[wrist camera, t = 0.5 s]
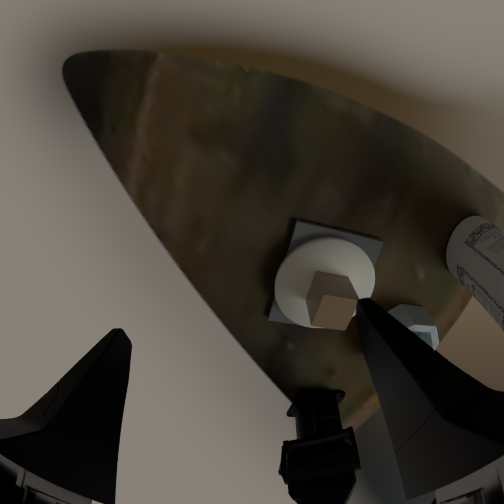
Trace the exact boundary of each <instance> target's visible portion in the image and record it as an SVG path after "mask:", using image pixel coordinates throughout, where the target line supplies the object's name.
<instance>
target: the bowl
mask: <svg viewBox="0 0 504 504" xmlns="http://www.w3.org/2000/svg"><path fill="white" fill-rule="evenodd" d="M388 313H389V314H391V315H392V316H393V317H395V318H396V319H397V320H398V321H400V322H401V323H402V324H403V325H405V326H406V327H407V328H409V329H410V330H411V331H412V332H414V333H415V334H416V335H417V336H419V337H420V338H421V339H422V340H424V341H425V342H426V343H427V344H428V345H430V346H431V347H432V348H433V349H434V350H435V349H436V347H437V346H438V345H439V340H438V334H437V328H436V326H435V324H434V323H433V321H432V320H431V318H430V317H429V315H428V314H427V313H426V311H425V310H424V308H423V307H421V306H414V305H407V304H399V305H398V306H396V307H394V308H393V309H391V310H389V311H388Z"/></svg>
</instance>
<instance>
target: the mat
mask: <svg viewBox="0 0 504 504" xmlns="http://www.w3.org/2000/svg"><path fill="white" fill-rule="evenodd" d="M320 237H340V238H344V239H347V240H350V241H352V242H354V243H355V244H357V245H358V246H359V247H360V248H362V249H363V251H364V252H365V253H366V254H367V256H368V257H369V259H370V261H371V262H372V265H373V268H374V266H375V263H376V261H377V258H378V256H379V253H380V251H381V248H382V246H383V243H384V242H383V241H382V240H380V239H376V238H372V237H368V236H364V235H360V234H356V233H352V232H348V231H344V230H340V229H336V228H331V227H327V226H323V225H318V224H314V223H310V222H305V221H301V220H296V222H295V226H294V230H293V233H292V237H291V241H290V244H289V248H288V251H287V255H288V254H289V253H290V252H291V251H292V250H294V249H295V248H296V247H298V246H299V245H301V244H303V243H305V242H307V241H309V240H312V239H315V238H320ZM287 255H286V256H287ZM268 320H270V321H276V322H283V323H289V324H296V325H299V324H297V323H295V322H293V321H291V320H290V319H289V318H287V317H286V316H285V315H284V314H283V312H282V311H281V310H280V308H279V306H278V304H277V301H276V297H275V296H274V299H273V302H272V306H271V309H270V312H269V316H268ZM326 329H331V328H326ZM334 330H340V329H334ZM343 331H345V330H343Z"/></svg>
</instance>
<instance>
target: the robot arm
mask: <svg viewBox="0 0 504 504" xmlns="http://www.w3.org/2000/svg"><path fill="white" fill-rule="evenodd" d="M355 318H356V323H357V327H358V331H359V336H360V340H361V344H362V348H363V353H364V357H365V360H366V363H367V366H368V368H369V371H370V374H371V377H372V380H373V383H374V386H375V389H376V392H377V395H378V398H379V401H380V404H381V407H382V410H383V414H384V417H385V420H386V424H387V427H388V430H389V434H390V437H391V441H392V444H393V448H394V451H395V453H396V454H395V455H396V459H397V463H398V467H399V471H400V475H401V479H402V483H403V488H404V492H405V497H406V500H409V499H412V498H415V497H418V496H421V495H424V494H426V493H429V492H431V491H434V493H435V499H434V500H433V502H432V503H431V504H504V392H503V391H496V390H493V389H491V388H489V387H487V386H485V385H484V384H482V383H480V382H479V381H478V380H476V379H474V378H473V377H471V376H470V375H468V374H467V373H465V372H464V371H462V370H461V369H460V368H458V367H457V366H455V365H454V364H452V363H451V362H450V361H448V360H447V359H446V358H444V357H443V356H442V355H441V354H440V353H438V352H437V351H436V350H434V349H433V348H432V347H431V346H430V345H428V344H427V343H426V342H425V341H424V340H422V339H421V338H420V337H419V336H417V335H416V334H415V333H414V332H412V331H411V330H410V329H409V328H407V327H406V326H405V325H403V324H402V323H401V322H400V321H398V320H397V319H396V318H395V317H393V316H392V315H391V314H389V313H388V312H387V311H386V310H384V309H383V308H382V307H380V306H379V305H378V304H376V303H375V302H374V301H373V300H371V299H370V298H368V297H367V298H362V299H358V300H357V305H356V315H355ZM131 350H132V344H131V341H130V339H129V338H128V336H127V335H126V334H125V332H124V330H123V329H121V328H118V329H117V328H115V329H112V330H111V331H110V332H109V333H108V334H107V335H106V336H104V337H103V338H102V339H101V340H100V341H99V342H98V343H97V344H96V345H95V346H94V347H93V348H92V349H91V350H90V351H89V352H88V353H87V354H86V355H85V356H84V357H83V358H81V359H80V360H79V362H77V363H76V364H75V365H74V366H73V367H72V368H71V369H70V370H69V371H68V372H67V373H66V374H65V375H64V376H63V377H62V378H61V379H60V380H59V382H57V383H56V384H55V385H54V386H53V387H52V388H51V389H50V390H49V391H48V392H47V393H46V394H45V395H44V396H43V397H42V398H40V399H39V400H38V401H37V402H36V403H35V404H34V405H33V406H31V407H30V408H29V409H28V410H27V411H26V412H25V413H23V414H22V415H21V416H18V417H16V418H10V419H0V504H91V503H92V500H94V501H97V502H100V503H103V504H115V494H116V493H115V492H116V475H117V461H118V451H119V442H120V433H121V425H122V418H123V411H124V405H125V399H126V393H127V387H128V381H129V372H130V360H131ZM344 397H345V392H343V391H317V390H300V391H299V393H298V394H297V396H296V398H295V400H294V401H293V403H292V405H291V406H290V408H289V410H288V411H287V416H288V417H295V420H296V432H297V439H296V440H291V441H288V440H287V441H283V446H282V454H281V463H280V467H279V471H278V472H279V475H281V476H282V477H283V480H284V482H285V484H286V485H287V484H288V493H289V495H290V496H291V498H292V499H293V500H295V501H296V503H297V504H347V503H348V501H349V499H350V497H351V495H352V493H353V491H354V489H355V487H356V476H355V471H359V470H361V466H360V459H359V454H358V449H357V445H356V440H355V436H354V432H353V428H352V426H351V427H348V428H346V429H342V425H341V420H340V413H339V408H338V405H339V403H340V402H341V401H342V400H343V398H344ZM350 444H351V445H350Z"/></svg>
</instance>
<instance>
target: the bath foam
mask: <svg viewBox="0 0 504 504" xmlns="http://www.w3.org/2000/svg"><path fill="white" fill-rule="evenodd" d="M446 262H447V266H448V268H449V270H450V272H451V273H452V274H453V275H454V276H455V277H456V278H457V279H458V280H459V281H460V282H461V283H462V284H463V285H464V286H465V287H466V289H467V290H468V291H469V292H470V293H471V294H472V295H473V296H474V297H475V298H476V299H477V300H478V301H479V303H480V304H481V305H482V306H483V307H484V308H485V309H486V310H487V311H488V313H489V314H490V315H491V316H492V317H493V319H494V320H495V321H496V322H497V323H498V325H499V326H500V327H501V328H502V329H503V331H504V231H503V230H502V229H500V228H499V227H497V226H495V225H494V224H492V223H490V222H489V221H487V220H486V219H484V218H482V217H479V216H470V217H468V218H466V219H464V220H463V221H462V222H460V223H459V225H458V226H457V227H456V228H455V230H454V231H453V233H452V235H451V237H450V239H449V242H448V245H447V250H446Z"/></svg>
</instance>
